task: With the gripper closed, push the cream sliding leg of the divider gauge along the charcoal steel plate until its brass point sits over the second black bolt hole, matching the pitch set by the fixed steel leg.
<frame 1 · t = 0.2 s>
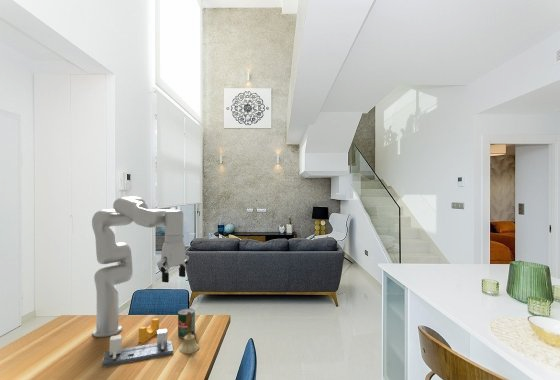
hand: (174, 279, 134), 31 cm above the table, tool pointing down, fingers open, 9 cm apart
sliding leg: (115, 347, 128), point 5 cm above the table, slide at 0.0 cm
hand bell: (189, 349, 137), on the table
pipe clamp: (147, 337, 149), on the table
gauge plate: (139, 354, 132), on the table
canned tomato: (186, 334, 151), on the table
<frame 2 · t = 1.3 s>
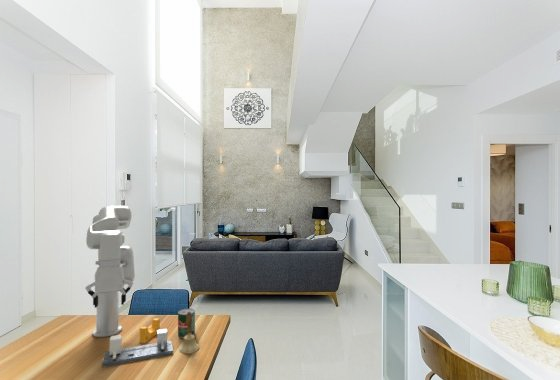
hand: (109, 305, 129), 22 cm above the table, tool pointing down, fingers open, 9 cm apart
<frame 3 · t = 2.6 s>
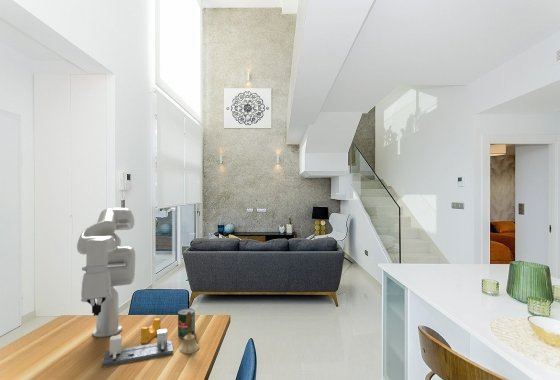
hand: (96, 314, 128), 18 cm above the table, tool pointing down, fingers closed
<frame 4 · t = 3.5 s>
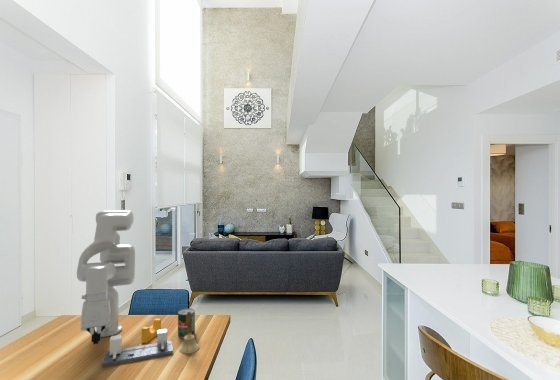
hand: (96, 343, 127), 7 cm above the table, tool pointing down, fingers closed
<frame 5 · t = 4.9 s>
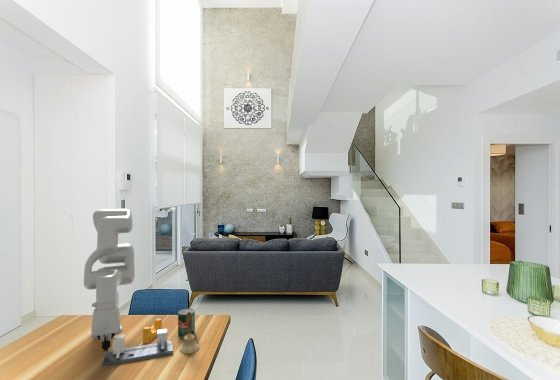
hand: (106, 349, 129), 4 cm above the table, tool pointing down, fingers closed
sliding leg: (118, 346, 129), point 5 cm above the table, slide at 1.2 cm, touching gripper
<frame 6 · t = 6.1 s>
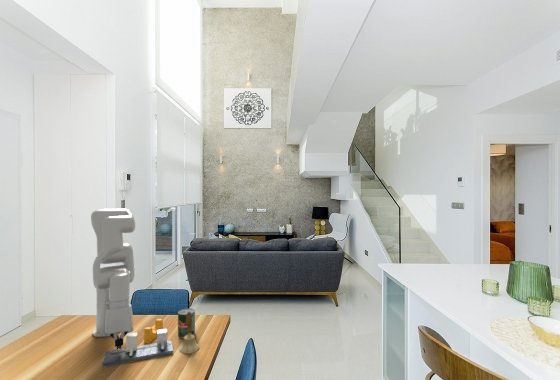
hand: (119, 347, 131), 4 cm above the table, tool pointing down, fingers closed
sliding leg: (131, 344, 131), point 5 cm above the table, slide at 6.0 cm, touching gripper
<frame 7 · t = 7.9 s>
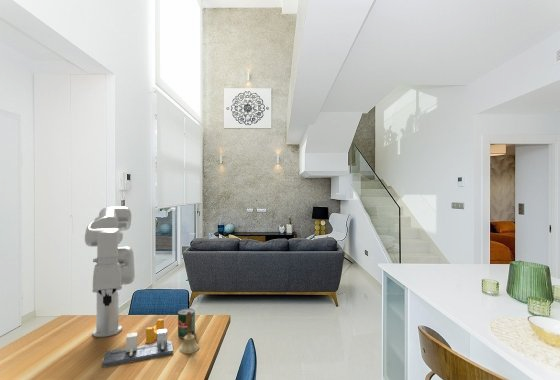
hand: (107, 304, 131), 21 cm above the table, tool pointing down, fingers closed
sliding leg: (131, 344, 131), point 5 cm above the table, slide at 6.0 cm
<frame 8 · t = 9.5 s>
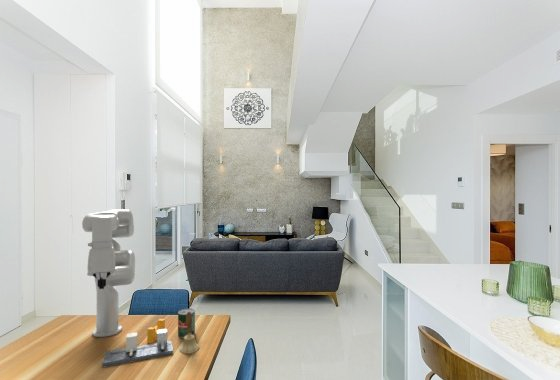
hand: (101, 288, 135), 27 cm above the table, tool pointing down, fingers closed
at the end: sliding leg slide at 6.0 cm; hand bell moved 0.3 cm from its start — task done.
